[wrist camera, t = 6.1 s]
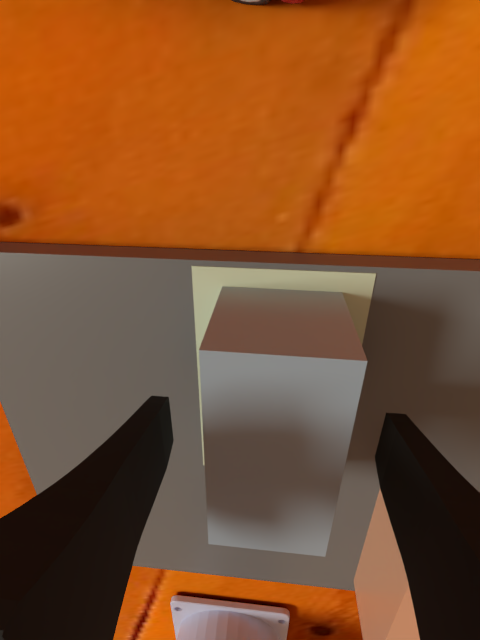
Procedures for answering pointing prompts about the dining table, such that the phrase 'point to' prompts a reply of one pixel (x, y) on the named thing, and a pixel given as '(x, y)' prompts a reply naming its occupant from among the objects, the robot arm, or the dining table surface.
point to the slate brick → (277, 415)
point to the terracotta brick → (383, 584)
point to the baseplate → (184, 375)
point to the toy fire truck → (265, 1)
